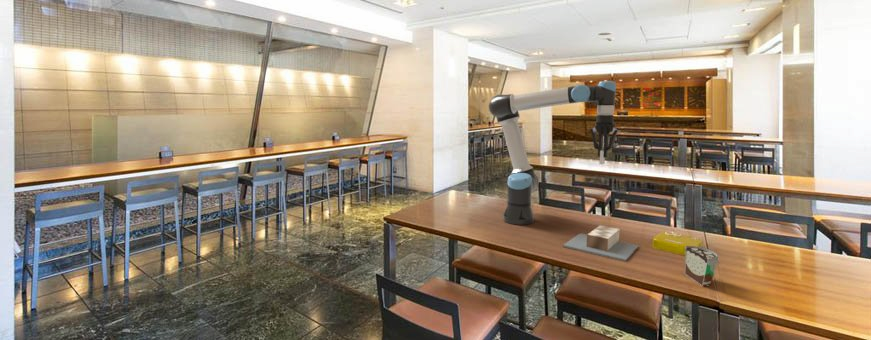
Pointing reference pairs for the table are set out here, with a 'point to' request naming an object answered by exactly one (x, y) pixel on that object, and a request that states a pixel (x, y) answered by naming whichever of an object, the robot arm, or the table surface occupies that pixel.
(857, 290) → the table surface
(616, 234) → the tall block
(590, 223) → the table surface
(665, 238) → the element tile
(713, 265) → the food container
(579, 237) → the mat
